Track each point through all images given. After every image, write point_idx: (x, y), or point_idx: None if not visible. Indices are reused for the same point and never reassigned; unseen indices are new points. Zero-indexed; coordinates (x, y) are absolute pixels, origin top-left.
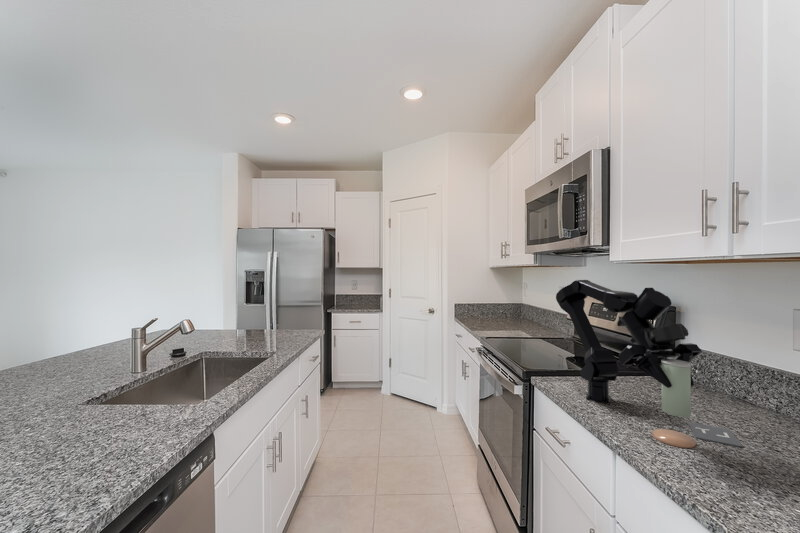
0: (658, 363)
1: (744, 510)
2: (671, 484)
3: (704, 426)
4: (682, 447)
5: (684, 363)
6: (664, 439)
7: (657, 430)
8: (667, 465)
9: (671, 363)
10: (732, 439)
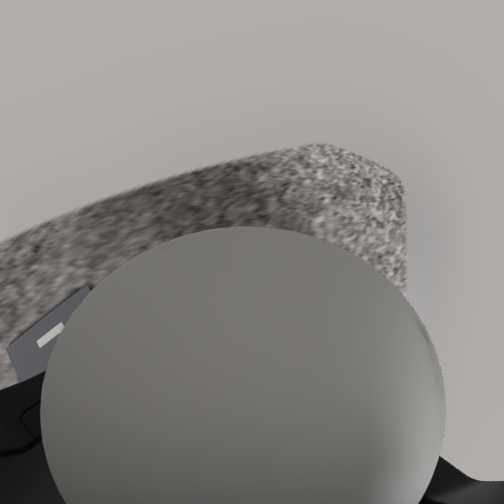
0: (426, 495)
1: (356, 176)
2: (406, 252)
3: None
4: None
5: (214, 317)
6: None
7: None
8: None
9: (425, 372)
10: (64, 315)
